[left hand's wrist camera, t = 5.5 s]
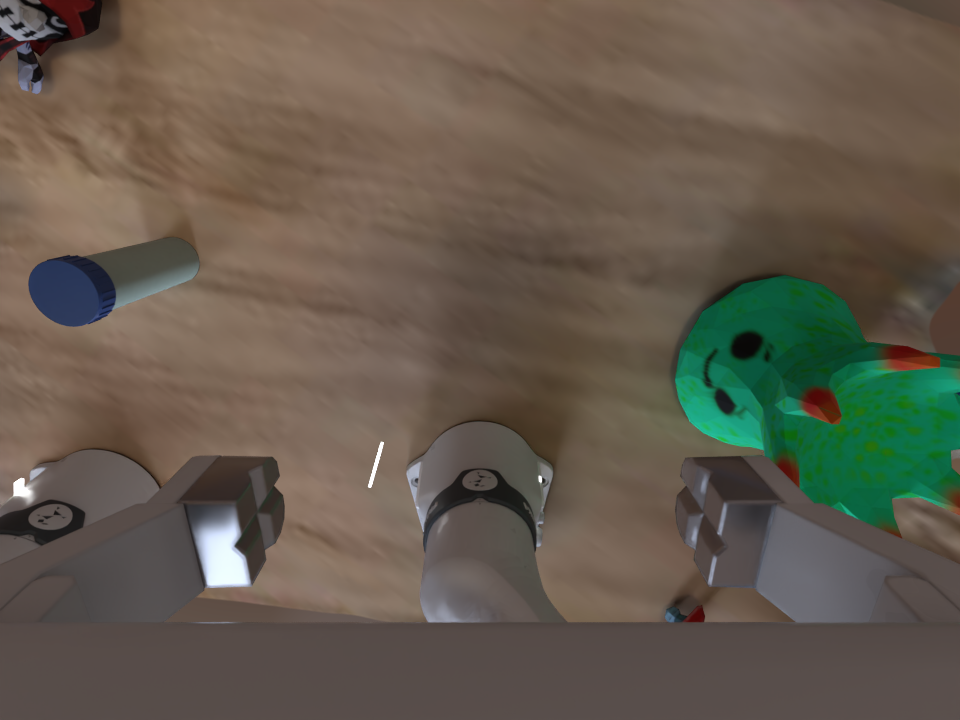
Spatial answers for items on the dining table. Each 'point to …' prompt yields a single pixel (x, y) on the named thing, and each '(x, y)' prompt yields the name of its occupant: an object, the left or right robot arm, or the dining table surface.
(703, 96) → the dining table surface
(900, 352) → the toy
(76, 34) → the toy
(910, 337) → the dining table surface
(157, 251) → the pale green cylinder
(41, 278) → the lid
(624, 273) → the dining table surface
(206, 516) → the left robot arm
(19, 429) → the dining table surface
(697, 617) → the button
